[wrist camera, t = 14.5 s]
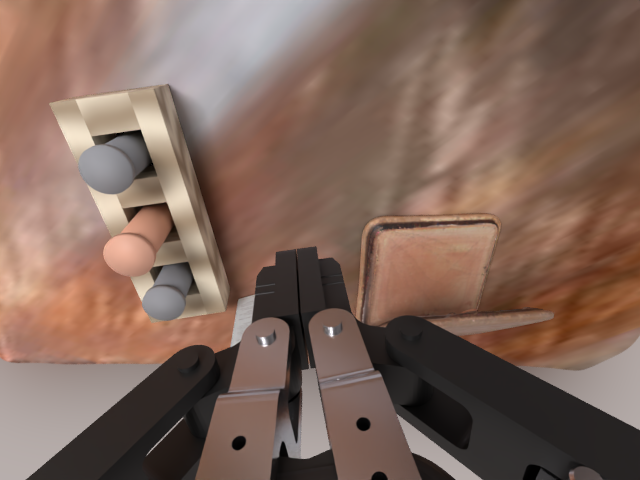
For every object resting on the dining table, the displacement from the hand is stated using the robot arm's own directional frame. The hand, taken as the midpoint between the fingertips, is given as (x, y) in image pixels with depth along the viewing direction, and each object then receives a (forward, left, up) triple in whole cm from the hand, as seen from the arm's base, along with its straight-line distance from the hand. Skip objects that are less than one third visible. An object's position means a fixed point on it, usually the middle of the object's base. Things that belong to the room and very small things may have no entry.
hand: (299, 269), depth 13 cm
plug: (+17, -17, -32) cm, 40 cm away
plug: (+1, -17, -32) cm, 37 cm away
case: (+26, +17, -33) cm, 45 cm away
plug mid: (+9, -17, -30) cm, 36 cm away
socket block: (+9, -17, -32) cm, 38 cm away
